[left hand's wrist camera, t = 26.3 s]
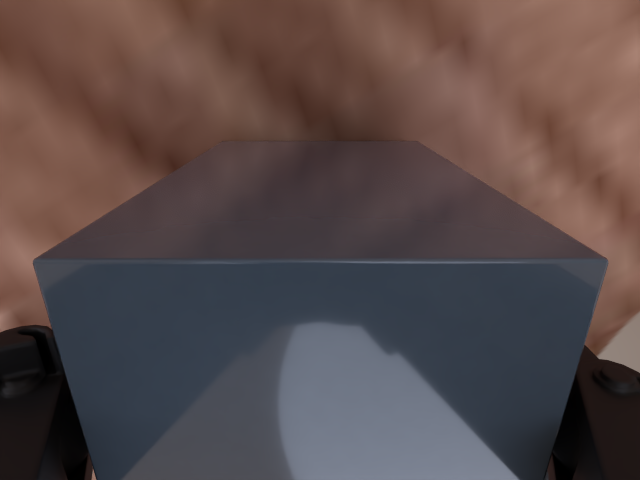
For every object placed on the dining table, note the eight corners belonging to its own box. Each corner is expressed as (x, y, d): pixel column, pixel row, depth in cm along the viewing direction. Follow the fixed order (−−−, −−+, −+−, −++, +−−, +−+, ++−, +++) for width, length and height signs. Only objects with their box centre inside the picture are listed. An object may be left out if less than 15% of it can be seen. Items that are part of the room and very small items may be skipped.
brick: (237, 312, 18) (132, 607, 8) (221, 140, 16) (28, 259, 5) (402, 312, 18) (508, 606, 8) (418, 140, 16) (612, 259, 5)
